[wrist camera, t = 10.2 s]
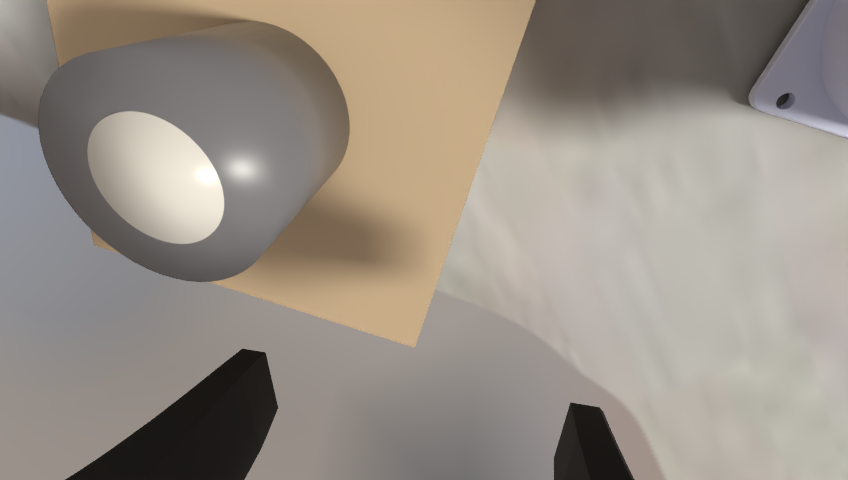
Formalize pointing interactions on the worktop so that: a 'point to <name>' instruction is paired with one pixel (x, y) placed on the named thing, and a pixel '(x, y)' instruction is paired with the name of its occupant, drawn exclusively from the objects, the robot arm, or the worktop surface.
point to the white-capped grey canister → (194, 143)
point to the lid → (358, 138)
